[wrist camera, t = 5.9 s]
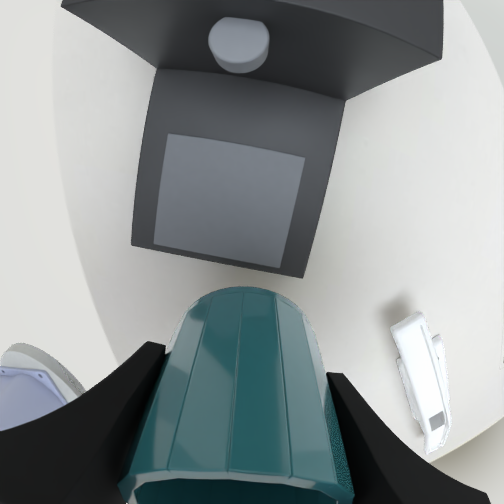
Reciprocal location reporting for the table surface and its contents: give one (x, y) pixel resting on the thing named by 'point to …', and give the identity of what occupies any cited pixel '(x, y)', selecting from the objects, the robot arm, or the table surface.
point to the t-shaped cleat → (424, 378)
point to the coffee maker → (253, 113)
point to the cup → (239, 411)
